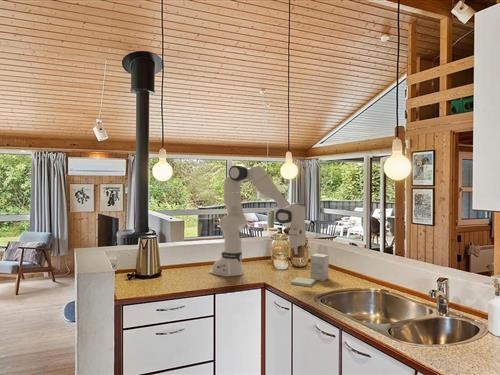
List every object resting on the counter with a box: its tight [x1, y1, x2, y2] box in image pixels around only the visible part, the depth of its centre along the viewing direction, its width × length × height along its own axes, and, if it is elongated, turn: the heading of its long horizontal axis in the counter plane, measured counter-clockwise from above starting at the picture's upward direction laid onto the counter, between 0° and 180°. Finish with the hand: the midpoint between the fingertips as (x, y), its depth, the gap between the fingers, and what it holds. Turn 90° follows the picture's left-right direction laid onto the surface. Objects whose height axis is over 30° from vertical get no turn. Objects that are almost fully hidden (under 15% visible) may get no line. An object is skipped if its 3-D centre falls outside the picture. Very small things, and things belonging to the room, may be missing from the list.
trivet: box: [290, 276, 317, 288], centre depth 238 cm, size 12×12×2 cm
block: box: [291, 245, 306, 259], centre depth 236 cm, size 6×6×6 cm
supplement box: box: [309, 253, 330, 282], centre depth 249 cm, size 9×9×15 cm
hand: (298, 253), depth 236 cm, fingers closed on block, 6 cm apart
